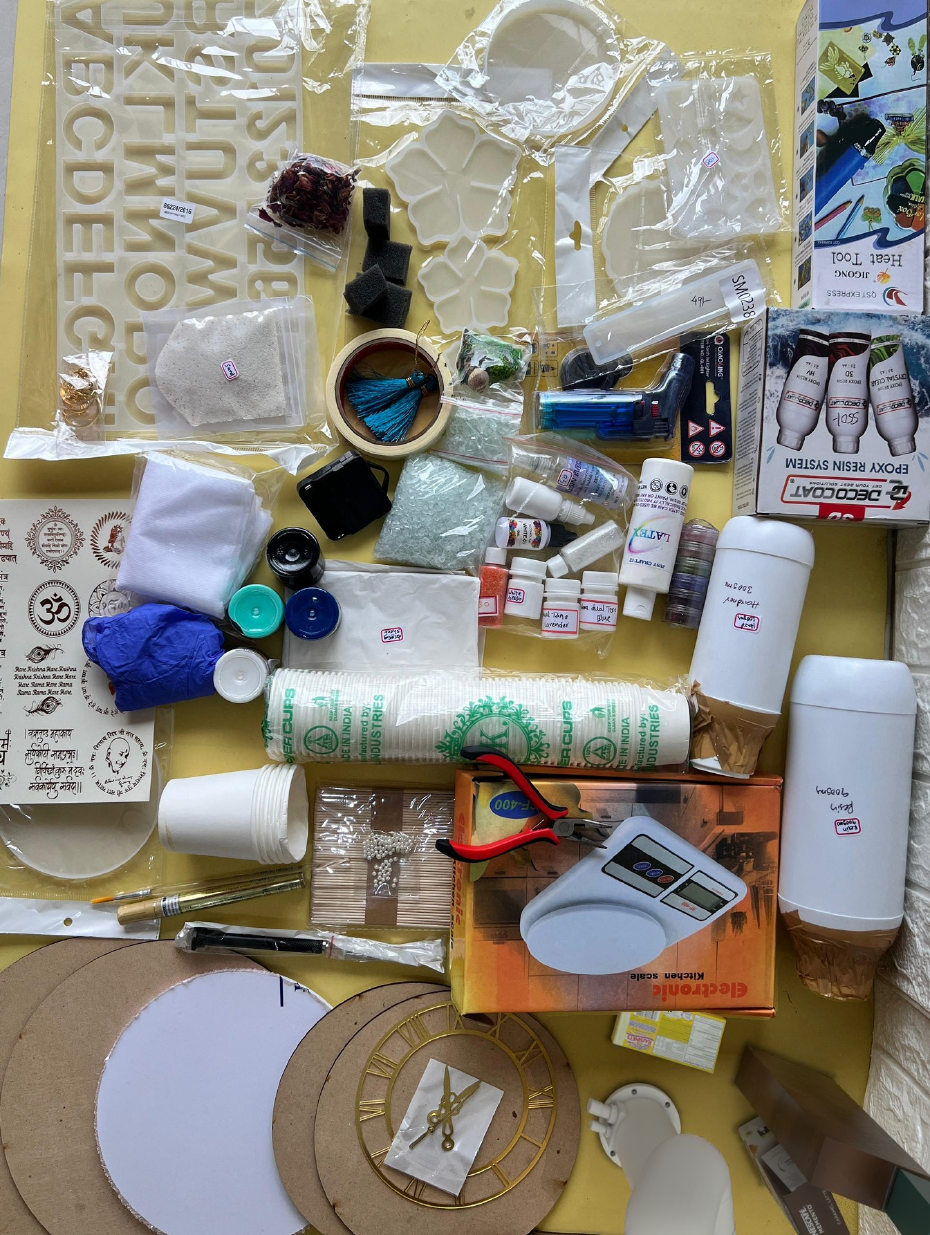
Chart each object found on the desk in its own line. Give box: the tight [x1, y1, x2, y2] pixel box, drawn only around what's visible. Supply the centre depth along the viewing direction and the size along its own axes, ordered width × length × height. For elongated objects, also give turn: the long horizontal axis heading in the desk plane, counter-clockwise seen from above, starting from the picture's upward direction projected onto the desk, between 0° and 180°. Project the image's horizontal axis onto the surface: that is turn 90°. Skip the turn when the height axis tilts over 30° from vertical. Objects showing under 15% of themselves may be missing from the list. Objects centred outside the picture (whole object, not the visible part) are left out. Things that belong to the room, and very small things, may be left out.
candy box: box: [610, 1011, 727, 1075], centre depth 122 cm, size 16×2×8 cm
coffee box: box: [737, 1115, 851, 1235], centre depth 114 cm, size 9×6×16 cm
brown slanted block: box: [733, 1045, 930, 1214], centre depth 110 cm, size 14×6×25 cm, turn 69°
